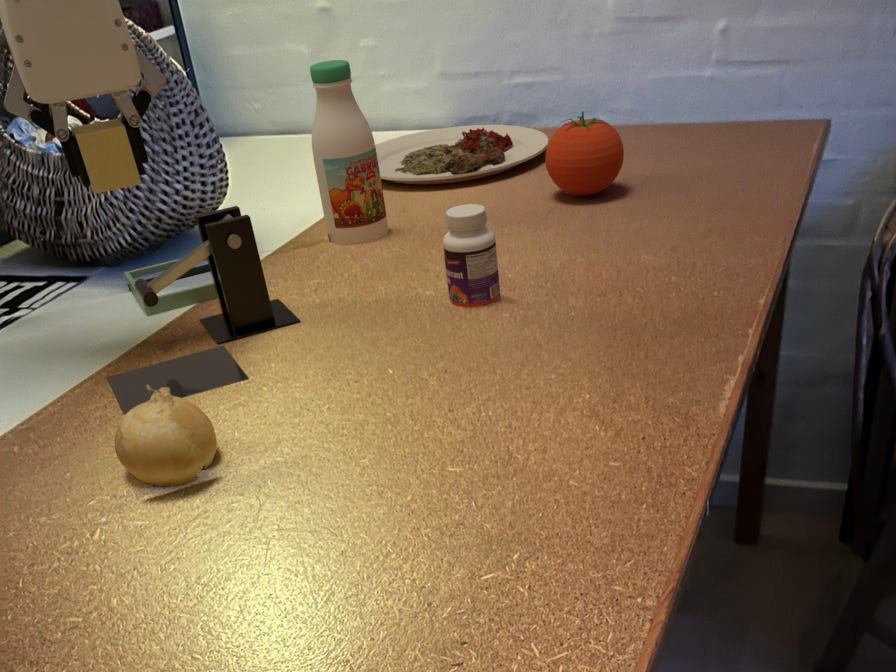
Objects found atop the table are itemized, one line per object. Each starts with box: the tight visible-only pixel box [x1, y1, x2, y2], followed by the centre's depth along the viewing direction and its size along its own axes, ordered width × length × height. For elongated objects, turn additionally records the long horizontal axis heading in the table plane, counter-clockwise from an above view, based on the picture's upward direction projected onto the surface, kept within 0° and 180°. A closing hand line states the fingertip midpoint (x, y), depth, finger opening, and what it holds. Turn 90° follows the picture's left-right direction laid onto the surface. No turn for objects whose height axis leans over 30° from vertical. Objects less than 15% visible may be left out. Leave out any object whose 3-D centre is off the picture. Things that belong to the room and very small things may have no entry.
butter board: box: [105, 344, 250, 416], centre depth 95 cm, size 12×10×1 cm
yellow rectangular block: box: [70, 118, 142, 195], centre depth 91 cm, size 4×4×5 cm
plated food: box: [375, 124, 549, 185], centre depth 149 cm, size 30×30×3 cm
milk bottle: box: [309, 59, 389, 246], centre depth 118 cm, size 8×8×20 cm
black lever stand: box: [194, 205, 301, 346], centre depth 101 cm, size 9×8×12 cm
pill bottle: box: [442, 203, 501, 308], centre depth 101 cm, size 5×5×10 cm
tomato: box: [544, 111, 625, 197], centre depth 127 cm, size 10×10×10 cm
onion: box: [114, 385, 218, 488], centre depth 79 cm, size 8×8×7 cm
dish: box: [123, 257, 218, 317], centre depth 115 cm, size 12×12×3 cm
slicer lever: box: [134, 214, 233, 307], centre depth 98 cm, size 12×5×2 cm, turn 116°
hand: (112, 176), depth 92 cm, fingers closed on yellow rectangular block, 4 cm apart
